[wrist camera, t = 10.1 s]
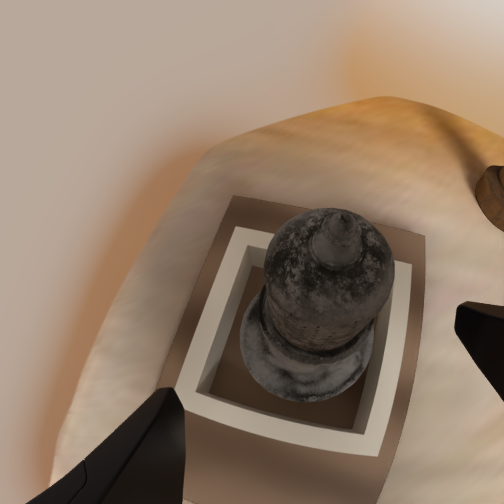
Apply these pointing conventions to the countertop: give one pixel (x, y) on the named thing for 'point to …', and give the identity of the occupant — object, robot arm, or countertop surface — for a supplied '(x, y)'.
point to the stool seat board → (274, 407)
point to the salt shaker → (317, 305)
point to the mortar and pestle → (492, 195)
